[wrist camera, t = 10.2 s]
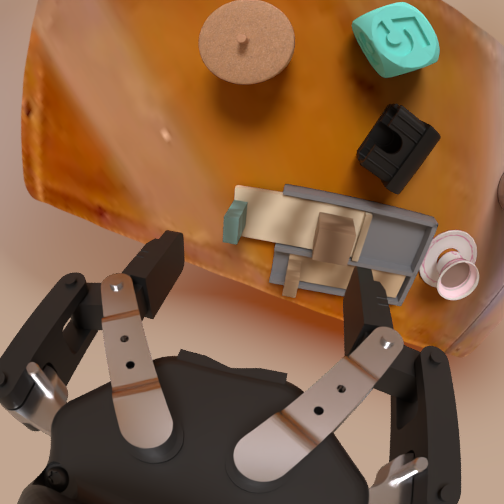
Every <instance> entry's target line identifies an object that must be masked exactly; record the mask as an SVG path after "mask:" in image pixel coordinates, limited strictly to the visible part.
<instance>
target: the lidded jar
mask: <svg viewBox="0 0 504 504" xmlns="http://www.w3.org/2000/svg"><path fill="white" fill-rule="evenodd" d="M294 48H295V35H294V30H293V28H292V25H291V23H290V21H289V20H288V18H287V17H286V16H285V15H284V13H283V12H281V11H280V10H279V9H278V8H276V7H275V6H273V5H271V4H269V3H266V2H264V1H260V0H237V1H233V2H230V3H227V4H225V5H223V6H221V7H219V8H218V9H217V10H215V11H214V12H213V13H212V14H211V15H210V16H209V17H208V19H207V20H206V21H205V23H204V25H203V27H202V29H201V32H200V36H199V51H200V55H201V58H202V60H203V62H204V63H205V65H206V66H207V68H208V69H209V70H210V71H211V72H212V73H213V74H214V75H216V76H217V77H219V78H220V79H223V80H225V81H227V82H231V83H234V84H241V85H242V84H256V83H260V82H264V81H266V80H268V79H271V78H273V77H274V76H276V75H277V74H279V73H280V72H281V71H282V70H284V68H285V67H286V66H287V65H288V63H289V62H290V60H291V58H292V56H293V53H294Z"/></svg>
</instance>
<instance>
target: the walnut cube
mask: <svg viewBox="0 0 504 504" xmlns="http://www.w3.org/2000/svg"><path fill="white" fill-rule="evenodd" d="M355 239H356V231H355V226H354V221H353V218H348V217H343V216H338V215H333V214H328V213H323V212H319V217H318V221H317V226H316V230H315V235H314V239H313V251H312V260H316V261H321V262H327V263H332V264H337V265H342V266H347V264H348V261H349V258H350V255H351V252H352V248H353V245H354V242H355Z"/></svg>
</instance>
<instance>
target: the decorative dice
mask: <svg viewBox="0 0 504 504" xmlns="http://www.w3.org/2000/svg"><path fill="white" fill-rule="evenodd" d="M352 29H353V32H354V35H355V37H356V39H357V42H358V44H359V45H360V47H361V49H362V51H363V53H364V54H365V56H366V58H367V59H368V61H369V62H370V64H371V65H372V67H373V68H374V69H375V71H376V72H377V73H378V74H379V75H380V76H382V77H384V78H390V77H394V76H397V75H401V74H404V73H408V72H411V71H414V70H417V69H420V68H423V67H426V66H428V65H431V64H433V63H435V62H437V60H438V57H439V52H440V49H439V43H438V40H437V37H436V34H435V32H434V30H433V28H432V26H431V25H430V23H429V22H428V20H427V19H426V17H425V16H424V15H423V14H422V13H421V12H420V11H419V10H418V9H416V8H415V7H413V6H411V5H409V4H407V3H405V2H399V3H394V4H390V5H387V6H383V7H381V8H378V9H375V10H373V11H370V12H368V13H366V14H364V15H362V16H360V17H358V18H357V19H355V20H354V21H353V23H352Z"/></svg>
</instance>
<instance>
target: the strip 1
mask: <svg viewBox="0 0 504 504" xmlns="http://www.w3.org/2000/svg"><path fill="white" fill-rule="evenodd" d="M319 212H323V213H328V214H333V215H338V216H343V217H348V218H353V221H354V226H355V231H356V239H355V242H354V245H353V248H352V252H351V255H350V257H351V259H352V261H356V262H358V260H359V257H360V254H361V251H362V248H363V245H364V242H365V239H366V236H367V232H368V229H369V226H370V223H371V220H372V213H371V212H368V211H364V210H359V209H354V208H350V207H345V206H340V205H335V204H330V203H325V202H320V201H315V200H310V199H305V198H299V197H294V196H288V195H283V192H277V191H272V190H266V189H260V188H253V187H247V186H240V185H237V186H236V187H235V198H234V201H233V203H232V204H231V206H230V208H229V209H228V211H227V212H226V214H225V216H224V227H223V242H226V243H231V244H236V245H237V243H238V241H239V239H240V237H241V236H243V237H248V238H254V239H259V240H265V241H270V242H276V243H281V244H286V245H292V246H297V247H302V248H307V249H313V239H314V235H315V230H316V226H317V221H318V217H319Z"/></svg>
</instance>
